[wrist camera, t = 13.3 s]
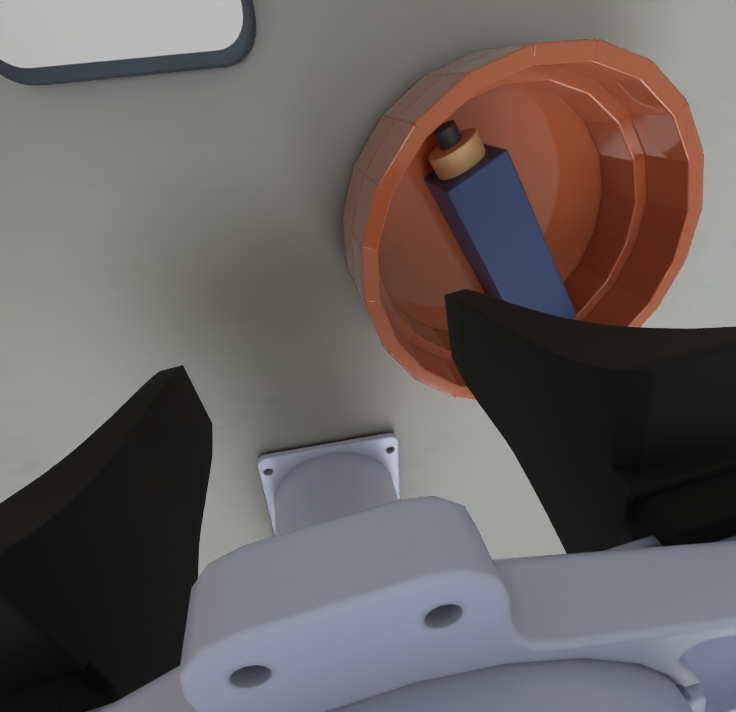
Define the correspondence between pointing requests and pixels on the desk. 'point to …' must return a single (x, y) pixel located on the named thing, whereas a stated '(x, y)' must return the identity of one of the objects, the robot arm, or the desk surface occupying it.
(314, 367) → the desk surface
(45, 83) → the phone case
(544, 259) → the pencil
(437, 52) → the desk surface
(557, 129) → the bowl
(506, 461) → the desk surface
